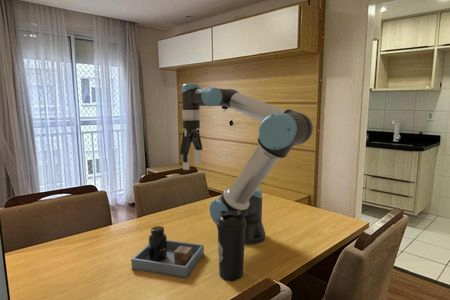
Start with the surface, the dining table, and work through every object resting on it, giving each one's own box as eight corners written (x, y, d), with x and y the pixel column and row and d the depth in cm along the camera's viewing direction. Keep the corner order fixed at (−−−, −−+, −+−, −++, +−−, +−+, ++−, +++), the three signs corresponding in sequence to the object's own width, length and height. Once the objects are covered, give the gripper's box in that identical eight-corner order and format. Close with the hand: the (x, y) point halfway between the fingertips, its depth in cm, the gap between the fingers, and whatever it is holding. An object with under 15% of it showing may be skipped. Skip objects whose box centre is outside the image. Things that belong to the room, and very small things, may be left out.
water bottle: (216, 267, 111) (215, 207, 107) (243, 265, 112) (243, 206, 108) (217, 283, 101) (217, 218, 97) (247, 281, 102) (248, 216, 98)
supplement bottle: (163, 263, 112) (162, 232, 111) (146, 261, 113) (145, 231, 112) (169, 254, 119) (168, 225, 117) (153, 252, 120) (152, 224, 118)
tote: (203, 254, 120) (203, 244, 120) (186, 278, 103) (186, 267, 103) (155, 247, 126) (155, 238, 125) (131, 269, 109) (131, 259, 109)
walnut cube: (192, 259, 115) (191, 247, 114) (186, 266, 110) (186, 253, 109) (180, 257, 116) (179, 245, 115) (174, 264, 111) (174, 251, 111)
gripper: (193, 118, 146) (194, 161, 149) (171, 120, 122) (172, 171, 125) (208, 118, 144) (208, 161, 147) (188, 121, 120) (189, 172, 123)
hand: (192, 166), depth 136 cm, fingers open, 13 cm apart
